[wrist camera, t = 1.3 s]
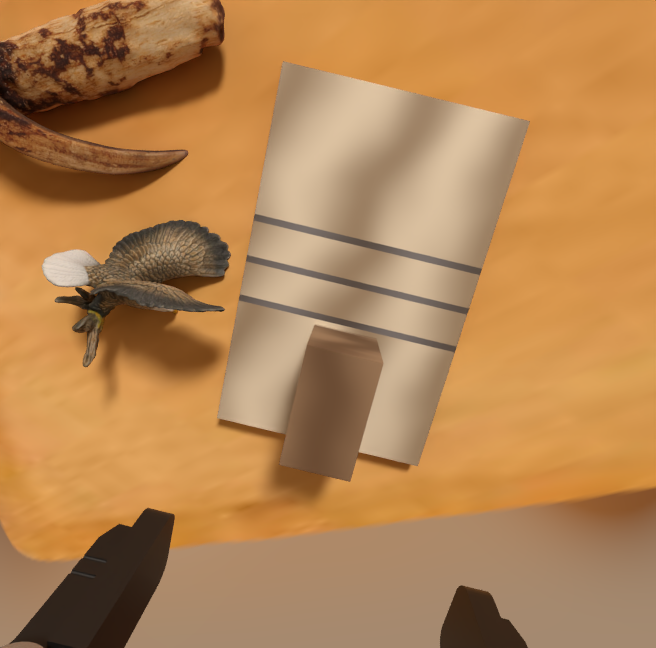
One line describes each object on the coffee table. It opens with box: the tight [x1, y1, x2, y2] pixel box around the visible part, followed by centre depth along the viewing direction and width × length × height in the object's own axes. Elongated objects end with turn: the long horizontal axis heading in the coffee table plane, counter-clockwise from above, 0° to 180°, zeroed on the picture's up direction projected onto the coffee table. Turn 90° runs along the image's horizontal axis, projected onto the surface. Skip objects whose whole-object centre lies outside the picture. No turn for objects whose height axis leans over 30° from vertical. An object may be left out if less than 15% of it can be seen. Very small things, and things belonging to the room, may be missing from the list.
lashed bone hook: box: [0, 0, 225, 174], centre depth 21 cm, size 9×5×18 cm
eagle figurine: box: [42, 220, 231, 367], centre depth 23 cm, size 8×7×9 cm
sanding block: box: [279, 324, 384, 482], centre depth 23 cm, size 4×7×5 cm, turn 167°
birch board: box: [217, 61, 530, 466], centre depth 24 cm, size 14×22×1 cm, turn 167°
